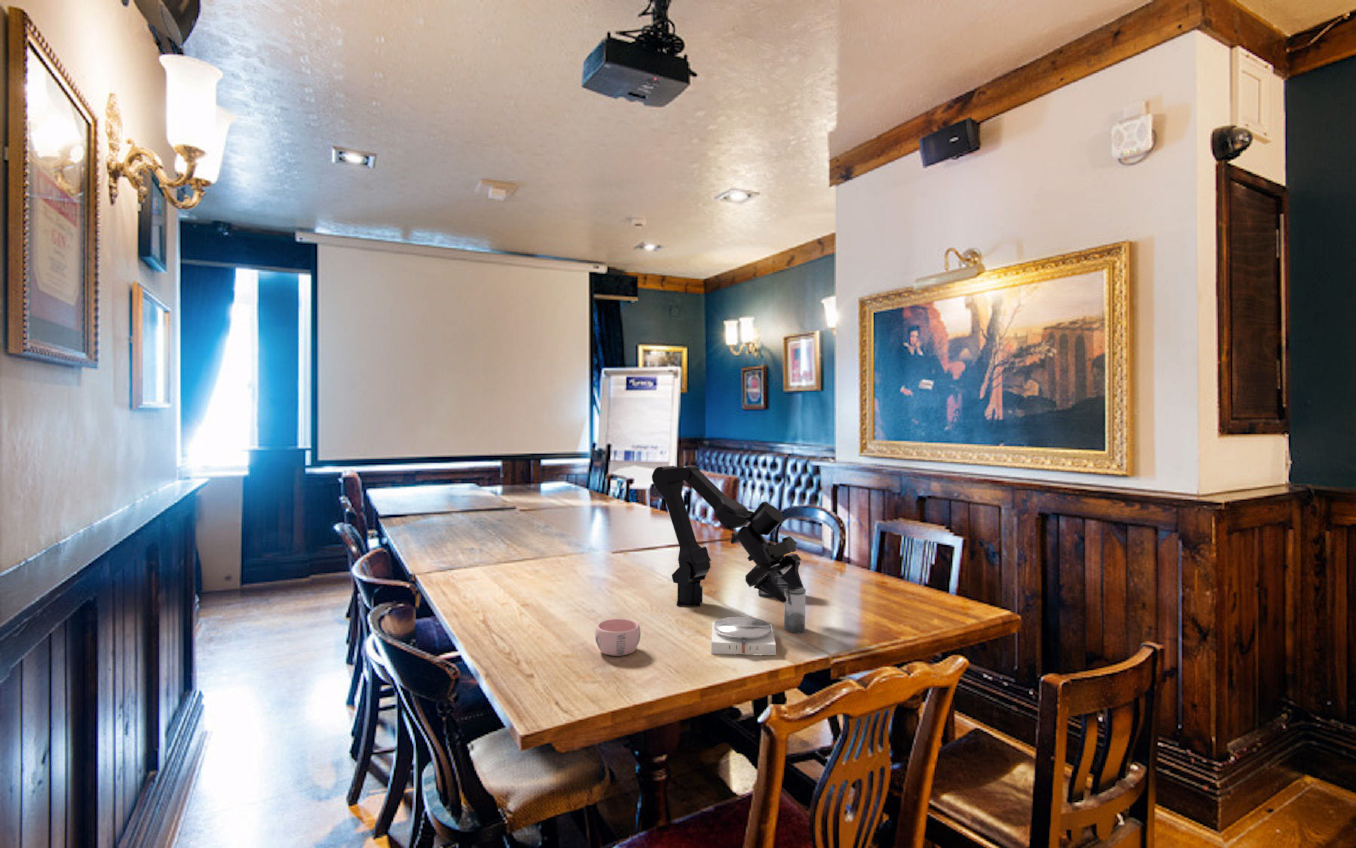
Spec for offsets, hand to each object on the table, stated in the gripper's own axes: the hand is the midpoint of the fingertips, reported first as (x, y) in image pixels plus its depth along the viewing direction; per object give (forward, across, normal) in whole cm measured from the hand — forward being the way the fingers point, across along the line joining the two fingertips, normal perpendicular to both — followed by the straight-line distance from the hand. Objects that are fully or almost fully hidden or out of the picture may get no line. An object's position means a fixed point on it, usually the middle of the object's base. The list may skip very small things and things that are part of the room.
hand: (794, 597), depth 159 cm
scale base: (+2, -16, +9) cm, 19 cm away
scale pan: (+2, -17, +8) cm, 19 cm away
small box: (-8, +24, +19) cm, 32 cm away
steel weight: (+6, 0, +6) cm, 8 cm away
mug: (-11, -38, +22) cm, 46 cm away
